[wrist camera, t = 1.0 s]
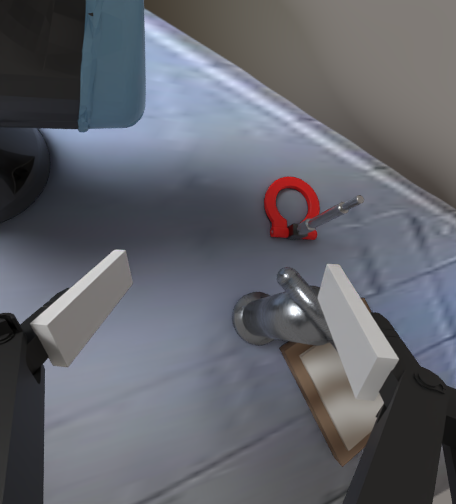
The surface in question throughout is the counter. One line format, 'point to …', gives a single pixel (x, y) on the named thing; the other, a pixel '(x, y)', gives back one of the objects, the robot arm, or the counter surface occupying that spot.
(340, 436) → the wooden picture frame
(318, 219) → the tow hook
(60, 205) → the counter surface
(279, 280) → the metal mooring bollard
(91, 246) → the counter surface
